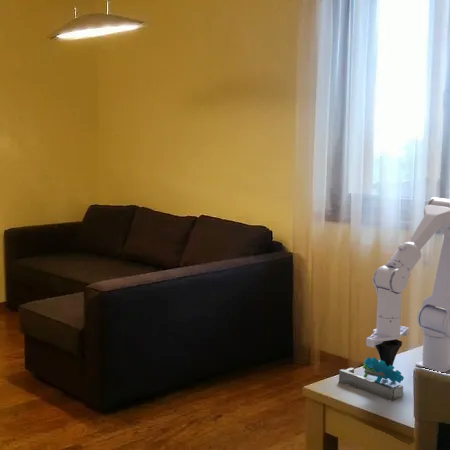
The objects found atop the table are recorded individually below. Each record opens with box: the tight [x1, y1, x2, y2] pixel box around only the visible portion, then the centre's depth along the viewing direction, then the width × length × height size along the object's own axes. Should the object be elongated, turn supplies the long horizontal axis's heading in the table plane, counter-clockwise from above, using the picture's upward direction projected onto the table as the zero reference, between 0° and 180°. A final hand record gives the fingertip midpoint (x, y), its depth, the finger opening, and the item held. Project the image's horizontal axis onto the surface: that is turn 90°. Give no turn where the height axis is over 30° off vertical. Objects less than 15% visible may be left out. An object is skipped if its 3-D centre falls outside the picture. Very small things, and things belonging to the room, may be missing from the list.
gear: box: [362, 356, 405, 384], centre depth 166 cm, size 11×6×10 cm
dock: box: [338, 367, 404, 402], centre depth 164 cm, size 4×16×3 cm, turn 40°
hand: (386, 368), depth 168 cm, fingers closed
